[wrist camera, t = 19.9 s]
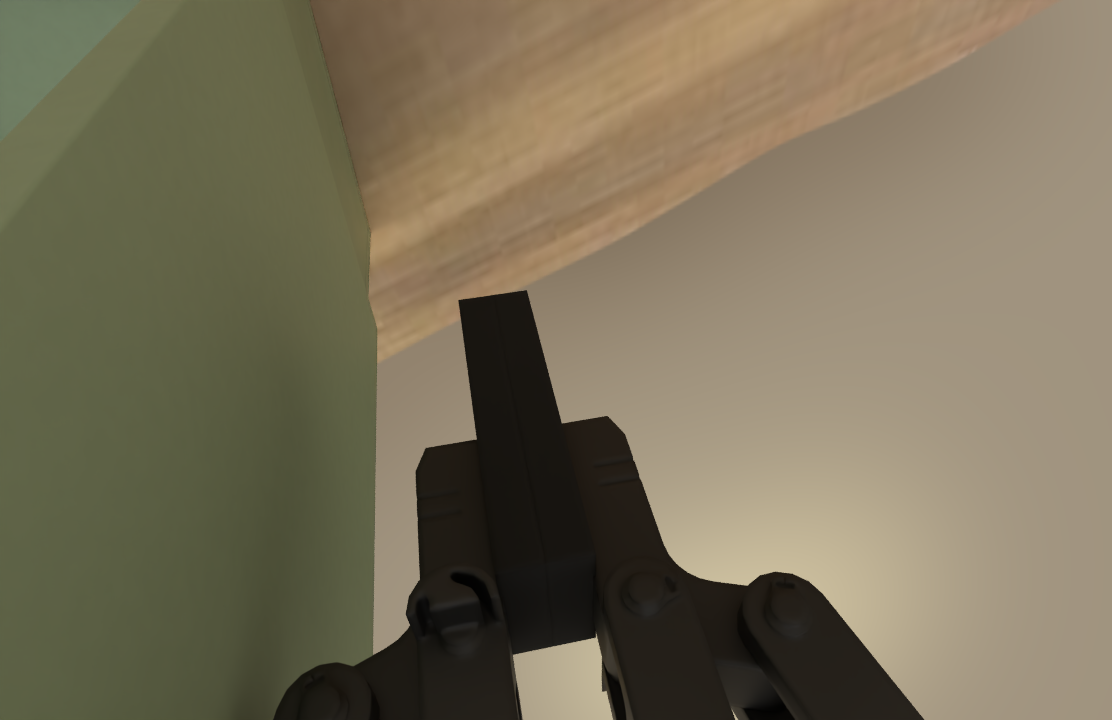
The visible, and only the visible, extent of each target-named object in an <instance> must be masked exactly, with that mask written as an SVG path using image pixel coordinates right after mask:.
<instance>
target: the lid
mask: <svg viewBox="0 0 1112 720" xmlns="http://www.w3.org/2000/svg"><path fill="white" fill-rule="evenodd" d="M376 383H377V326H376V323H375V319H374V316H373V312H372V309H371V306H370V302H369V299H368V295H367V292H366V288H365V285H364V281H363V278H362V274H361V271H360V268H359V264H358V261H357V257H356V254H355V250H354V247H353V243H352V240H351V236H350V233H349V229H348V226H347V223H346V219H345V216H344V212H343V209H342V205H341V202H340V198H339V195H338V191H337V188H336V185H335V181H334V178H333V174H332V171H331V167H330V164H329V160H328V157H327V153H326V150H325V147H324V143H323V140H322V136H321V133H320V129H319V126H318V122H317V119H316V115H315V112H314V109H313V105H312V102H311V98H310V95H309V91H308V88H307V84H306V81H305V77H304V74H303V70H302V67H301V64H300V60H299V57H298V53H297V50H296V46H295V43H294V39H293V36H292V32H291V29H290V26H289V22H288V19H287V15H286V12H285V8H284V5H283V1H282V0H141V1H140V2H139V3H138V4H137V5H136V6H135V7H134V8H133V9H132V10H131V11H130V12H129V13H128V14H127V15H126V16H125V17H124V18H123V19H122V20H121V21H120V22H119V23H118V24H117V25H116V26H115V27H114V28H113V29H112V30H111V31H110V32H109V33H108V34H107V35H106V36H105V37H104V38H103V39H102V40H101V41H100V42H99V43H98V44H97V45H96V46H95V47H94V48H93V49H92V50H91V51H90V52H89V53H88V54H87V55H86V56H85V57H84V58H83V59H82V60H81V61H80V62H79V63H78V64H77V65H76V66H75V67H74V68H73V69H72V70H71V71H70V72H69V73H68V74H67V75H66V76H65V77H64V78H63V79H62V80H61V81H60V82H59V83H58V84H57V85H56V86H55V87H54V88H53V89H52V90H51V91H50V92H49V93H48V94H47V95H46V96H45V97H44V98H43V99H42V100H41V101H40V102H39V103H38V104H37V105H36V106H35V107H34V108H33V109H32V110H31V111H30V112H29V113H28V114H27V115H26V116H25V117H24V118H23V119H22V120H21V121H20V122H19V123H18V124H17V125H16V126H15V127H14V128H13V129H12V130H11V131H10V132H9V134H8V135H7V136H6V137H5V138H4V139H3V140H2V141H1V142H0V720H273V718H274V715H275V712H276V709H277V707H278V705H279V703H280V701H281V700H282V698H283V696H284V694H285V692H286V690H287V689H288V688H289V687H290V686H291V685H292V684H293V683H294V682H295V681H296V680H297V679H298V678H299V677H300V676H301V675H302V674H303V673H305V672H307V671H309V670H311V669H313V668H314V667H316V666H318V665H322V664H328V663H334V662H339V663H343V664H347V665H351V666H355V665H356V664H358V663H360V662H362V661H364V660H365V659H367V658H369V657H371V656H373V609H374V608H373V607H374V536H375V531H374V530H375V462H376V386H377V384H376Z"/></svg>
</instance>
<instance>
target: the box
mask: <svg viewBox="0 0 1112 720" xmlns="http://www.w3.org/2000/svg"><path fill="white" fill-rule="evenodd" d="M140 1H141V0H0V142H1V141H2V140H3V139H4V138H5V137H6V136H7V135H8V134H9V132H10V131H11V130H12V129H13V128H14V127H15V126H16V125H17V124H18V123H19V122H20V121H21V120H22V119H23V118H24V117H25V116H26V115H27V114H28V113H29V112H30V111H31V110H32V109H33V108H34V107H35V106H36V105H37V104H38V103H39V102H40V101H41V100H42V99H43V98H44V97H45V96H46V95H47V94H48V93H49V92H50V91H51V90H52V89H53V88H54V87H55V86H56V85H57V84H58V83H59V82H60V81H61V80H62V79H63V78H64V77H65V76H66V75H67V74H68V73H69V72H70V71H71V70H72V69H73V68H74V67H75V66H76V65H77V64H78V63H79V62H80V61H81V60H82V59H83V58H84V57H85V56H86V55H87V54H88V53H89V52H90V51H91V50H92V49H93V48H94V47H95V46H96V45H97V44H98V43H99V42H100V41H101V40H102V39H103V38H104V37H105V36H106V35H107V34H108V33H109V32H110V31H111V30H112V29H113V28H114V27H115V26H116V25H117V24H118V23H119V22H120V21H121V20H122V19H123V18H124V17H125V16H126V15H127V14H128V13H129V12H130V11H131V10H132V9H133V8H134V7H135V6H136V5H137V4H138V3H139V2H140ZM282 1H283V5H284V8H285V12H286V15H287V19H288V22H289V26H290V29H291V32H292V36H293V39H294V43H295V46H296V50H297V53H298V57H299V60H300V64H301V67H302V70H303V74H304V77H305V81H306V84H307V88H308V91H309V95H310V98H311V102H312V105H313V109H314V112H315V115H316V119H317V122H318V126H319V129H320V133H321V136H322V140H323V143H324V147H325V150H326V153H327V157H328V160H329V164H330V167H331V171H332V174H333V178H334V181H335V185H336V188H337V191H338V195H339V198H340V202H341V205H342V209H343V212H344V216H345V219H346V223H347V226H348V229H349V233H350V236H351V240H352V243H353V247H354V250H355V254H356V257H357V261H358V264H359V268H360V271H361V274H362V278H363V281H364V285H365V288H366V292H367V295H368V293H369V265H370V236H371V232H370V228H369V224H368V221H367V217H366V213H365V209H364V205H363V202H362V198H361V194H360V190H359V187H358V183H357V179H356V175H355V171H354V168H353V164H352V160H351V156H350V152H349V149H348V145H347V141H346V137H345V134H344V130H343V126H342V122H341V118H340V115H339V111H338V107H337V103H336V99H335V96H334V92H333V88H332V84H331V81H330V77H329V73H328V69H327V65H326V62H325V58H324V54H323V50H322V46H321V43H320V39H319V35H318V31H317V28H316V24H315V20H314V16H313V12H312V9H311V5H310V1H309V0H282Z"/></svg>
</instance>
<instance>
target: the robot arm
mask: <svg viewBox="0 0 1112 720" xmlns="http://www.w3.org/2000/svg"><path fill="white" fill-rule="evenodd" d="M458 301H459V308H460V316H461V323H462V330H463V338H464V345H465V352H466V361H467V368H468V376H469V383H470V390H471V398H472V406H473V414H474V421H475V429H476V436H477V440H471V441H465V442H459V443H453V444H447V445H441V446H435V447H429V448H426V449H425V451H424V453H423V456H422V458H421V460H420V463H419V465H418V467H417V470H416V494H417V516H418V543H419V564H420V565H419V567H420V580H419V581H418V583H417V585H416V586H415V588H414V589H413V591H412V593H411V594H410V596H409V599H408V605H407V610H406V616H407V619H408V621H409V624H410V626H409V628H408V630H407V631H406V632H405V633H404V634H403V635H402V636H401V637H400V638H399V639H398V640H397V641H395V642H394V643H393V644H391V645H390V646H388V647H387V648H385V649H384V650H382V651H380V652H378V653H376V654H374V655H373V656H371V657H369V658H367V659H365V660H364V661H362V662H360V663H358V664H356V665H355V666H351V665H347V664H343V663H339V662H334V663H328V664H322V665H318V666H316V667H314V668H313V669H311V670H309V671H307V672H305V673H303V674H302V675H301V676H300V677H299V678H298V679H297V680H296V681H295V682H294V683H293V684H292V685H291V686H290V687H289V688H288V689H287V690H286V692H285V694H284V696H283V698H282V700H281V701H280V703H279V705H278V707H277V709H276V712H275V715H274V718H273V720H522V713H521V705H520V699H519V692H518V687H517V681H516V675H515V668H514V661H513V655H514V654H519V653H523V652H528V651H532V650H538V649H542V648H548V647H552V646H557V645H562V644H567V643H572V642H576V641H581V640H586V639H591V638H595V637H596V634H597V638H598V642H599V646H600V650H601V654H602V691H607V694H608V699H609V703H610V707H611V712H612V716H613V720H735V718H734V715H733V712H734V713H735V715H736V717H737V718H738V720H924V719H923V718H922V716H921V715H920V714H919V713H918V711H917V710H916V709H915V708H914V706H913V705H912V704H911V703H910V701H909V700H908V699H907V698H906V697H905V695H904V694H903V693H902V692H901V690H900V689H899V688H898V687H897V685H896V684H895V683H894V682H893V680H892V679H891V678H890V677H889V675H888V674H887V673H886V672H885V671H884V669H883V668H882V667H881V666H880V664H879V663H878V662H877V661H876V659H875V658H874V657H873V656H872V654H871V653H870V652H869V651H868V649H867V648H866V647H865V646H864V645H863V643H862V642H861V641H860V640H859V638H858V637H857V636H856V635H855V633H854V632H853V631H852V630H851V629H850V627H849V626H848V625H847V624H846V622H845V621H844V620H843V619H842V617H841V616H840V615H839V614H838V612H837V611H836V610H835V609H834V607H833V606H832V605H831V604H830V603H829V601H828V600H827V599H826V597H825V596H824V595H823V594H822V593H821V592H820V591H819V590H818V589H817V588H815V587H814V586H813V585H812V584H811V583H810V582H809V581H806V580H804V579H802V578H800V577H798V576H796V575H793V574H789V573H781V572H772V573H769V574H764V575H760V576H759V577H758V578H756V579H755V580H754V581H753V582H751V583H750V584H749V585H748V586H744V585H737V584H729V583H721V582H713V581H708V580H705V579H700V578H698V577H696V576H694V575H691V574H689V573H687V572H686V571H685V570H683V569H682V568H681V567H679V566H678V565H677V564H676V563H675V562H674V561H673V559H672V558H671V557H670V556H669V554H668V552H667V550H666V548H665V546H664V544H663V541H662V539H661V536H660V533H659V530H658V527H657V524H656V522H655V519H654V516H653V513H652V510H651V507H650V504H649V502H648V499H647V496H646V493H645V490H644V487H643V484H642V482H641V480H640V478H639V473H638V470H637V467H636V464H635V462H634V461H633V456H632V453H631V450H630V447H629V445H628V442H627V439H626V436H625V434H624V433H623V432H622V431H621V430H620V429H619V427H617V425H616V424H615V423H614V422H613V421H612V420H611V419H610V418H609V417H608V416H604V417H598V418H593V419H586V420H581V421H575V422H569V423H563V424H562V423H561V419H560V415H559V411H558V407H557V404H556V400H555V396H554V392H553V388H552V384H551V381H550V377H549V373H548V369H547V365H546V362H545V358H544V354H543V350H542V347H541V343H540V339H539V335H538V331H537V327H536V324H535V320H534V316H533V312H532V309H531V305H530V301H529V297H528V293H527V290H525V291H518V292H511V293H504V294H498V295H491V296H484V297H477V298H470V299H463V300H458ZM732 710H733V712H732Z"/></svg>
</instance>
